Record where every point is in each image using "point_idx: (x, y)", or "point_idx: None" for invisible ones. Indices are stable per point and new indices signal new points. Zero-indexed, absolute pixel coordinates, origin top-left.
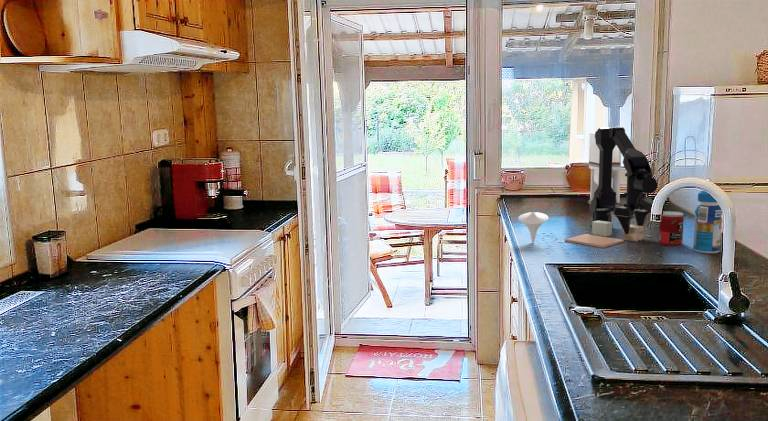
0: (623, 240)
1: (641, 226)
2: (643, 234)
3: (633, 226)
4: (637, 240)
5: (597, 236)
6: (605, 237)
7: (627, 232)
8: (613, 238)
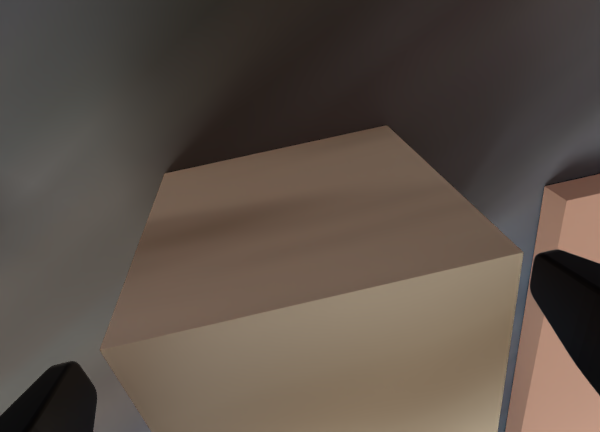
0: (570, 195)
1: (198, 348)
2: (149, 215)
3: (367, 414)
4: (348, 137)
5: (547, 430)
6: (550, 379)
7: (585, 267)
8: None
